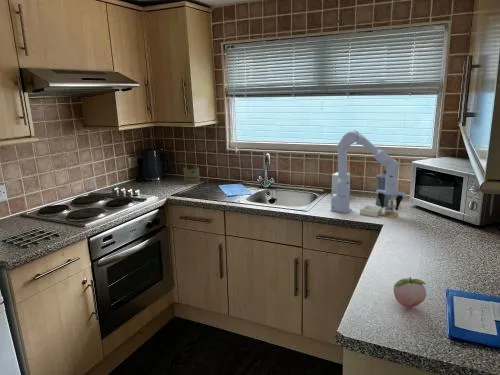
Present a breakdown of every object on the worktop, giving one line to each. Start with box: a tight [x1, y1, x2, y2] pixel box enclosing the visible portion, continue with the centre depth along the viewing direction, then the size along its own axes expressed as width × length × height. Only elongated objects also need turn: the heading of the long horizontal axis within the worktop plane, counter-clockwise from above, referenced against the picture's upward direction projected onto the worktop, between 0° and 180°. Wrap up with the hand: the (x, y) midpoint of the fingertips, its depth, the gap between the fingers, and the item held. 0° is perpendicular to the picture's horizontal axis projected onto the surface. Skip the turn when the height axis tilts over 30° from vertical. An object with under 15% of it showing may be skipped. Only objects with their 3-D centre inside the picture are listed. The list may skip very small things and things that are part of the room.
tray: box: [359, 204, 384, 218], centre depth 207 cm, size 9×9×3 cm
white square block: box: [331, 171, 351, 196], centre depth 238 cm, size 9×9×15 cm
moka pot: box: [375, 170, 392, 208], centre depth 220 cm, size 10×15×20 cm, turn 158°
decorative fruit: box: [393, 276, 427, 309], centre depth 117 cm, size 9×8×10 cm
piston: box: [183, 166, 201, 185], centre depth 286 cm, size 11×12×11 cm
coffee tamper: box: [384, 198, 395, 213], centre depth 202 cm, size 4×4×6 cm
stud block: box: [379, 210, 399, 219], centre depth 203 cm, size 7×7×2 cm
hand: (389, 208), depth 202 cm, fingers open, 7 cm apart
